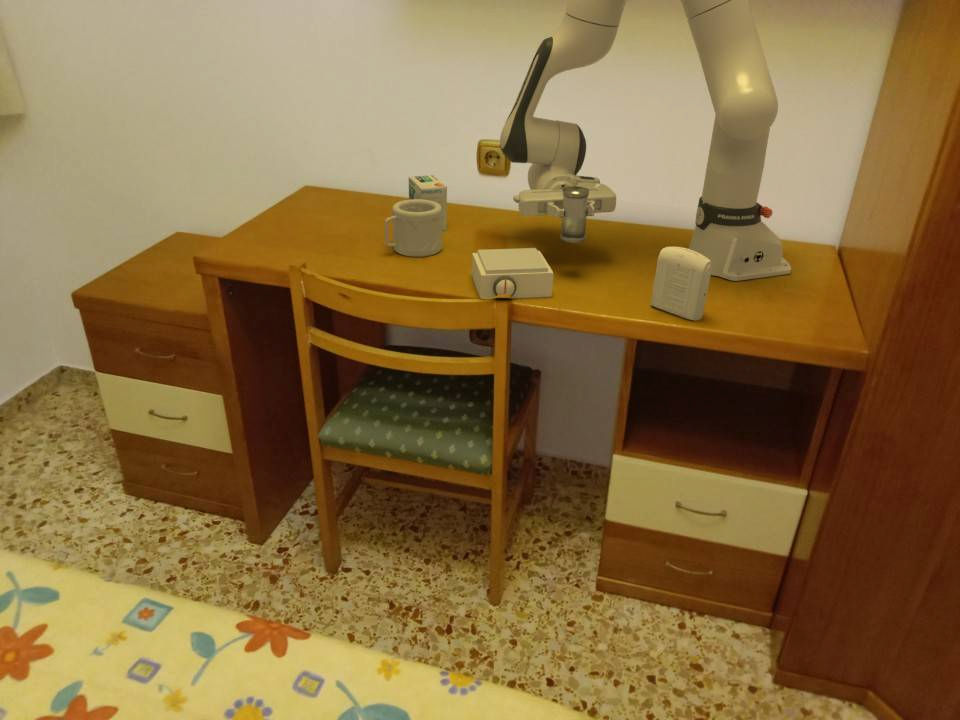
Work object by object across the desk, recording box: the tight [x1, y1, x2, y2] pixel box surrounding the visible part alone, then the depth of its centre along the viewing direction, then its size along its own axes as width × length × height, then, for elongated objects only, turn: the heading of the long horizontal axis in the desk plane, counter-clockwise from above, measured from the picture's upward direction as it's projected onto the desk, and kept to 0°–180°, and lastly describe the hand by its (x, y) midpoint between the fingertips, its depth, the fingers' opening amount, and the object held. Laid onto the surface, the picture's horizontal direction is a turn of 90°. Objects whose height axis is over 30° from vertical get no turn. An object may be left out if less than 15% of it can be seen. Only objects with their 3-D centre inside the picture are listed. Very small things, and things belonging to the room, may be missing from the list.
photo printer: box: [650, 246, 712, 322], centre depth 139 cm, size 10×4×12 cm, turn 47°
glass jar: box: [559, 186, 589, 244], centre depth 150 cm, size 5×5×10 cm
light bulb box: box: [408, 174, 448, 232], centre depth 180 cm, size 11×7×11 cm, turn 21°
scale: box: [471, 247, 554, 299], centre depth 148 cm, size 14×13×6 cm
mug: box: [384, 199, 443, 258], centre depth 164 cm, size 14×11×10 cm
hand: (575, 213), depth 149 cm, fingers closed on glass jar, 5 cm apart
